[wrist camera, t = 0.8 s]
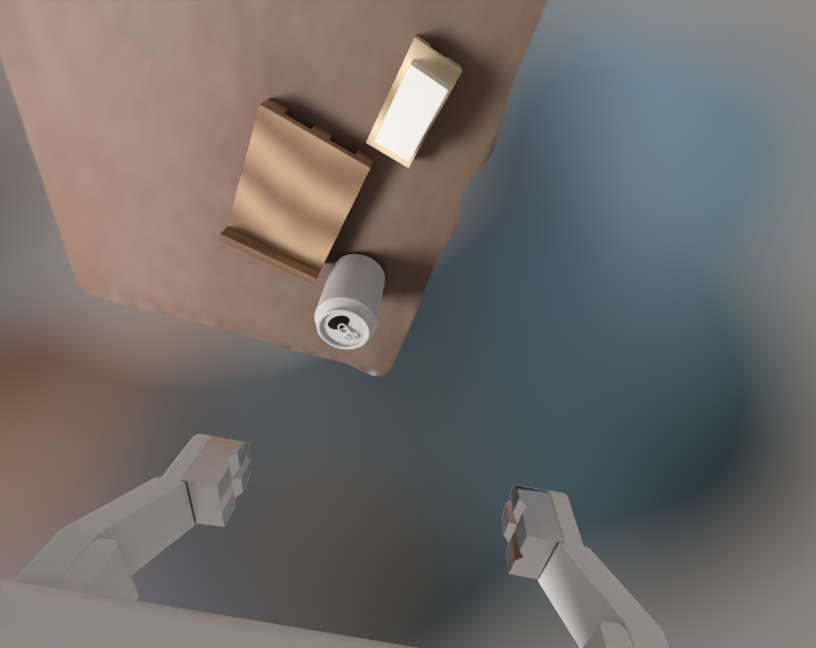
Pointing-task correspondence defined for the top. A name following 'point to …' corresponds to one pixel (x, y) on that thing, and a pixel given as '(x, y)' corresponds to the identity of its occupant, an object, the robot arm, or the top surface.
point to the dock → (293, 193)
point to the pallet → (418, 53)
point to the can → (350, 302)
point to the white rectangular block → (411, 111)
